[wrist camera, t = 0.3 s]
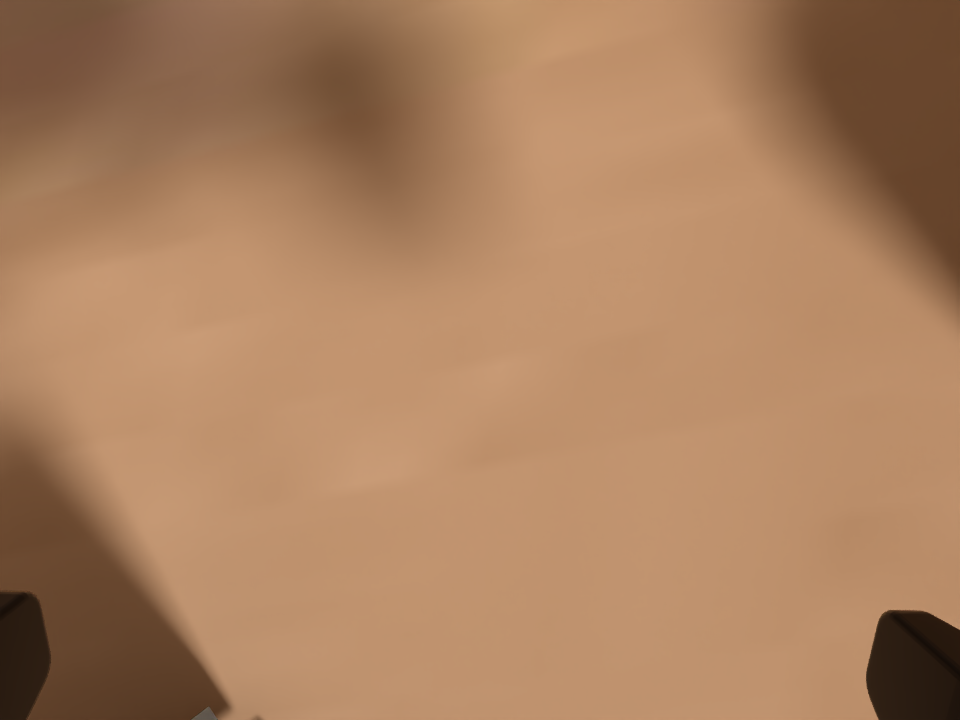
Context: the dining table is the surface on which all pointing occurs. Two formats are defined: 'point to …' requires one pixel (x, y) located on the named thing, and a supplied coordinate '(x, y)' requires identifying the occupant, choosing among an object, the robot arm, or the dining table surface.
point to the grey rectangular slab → (205, 715)
